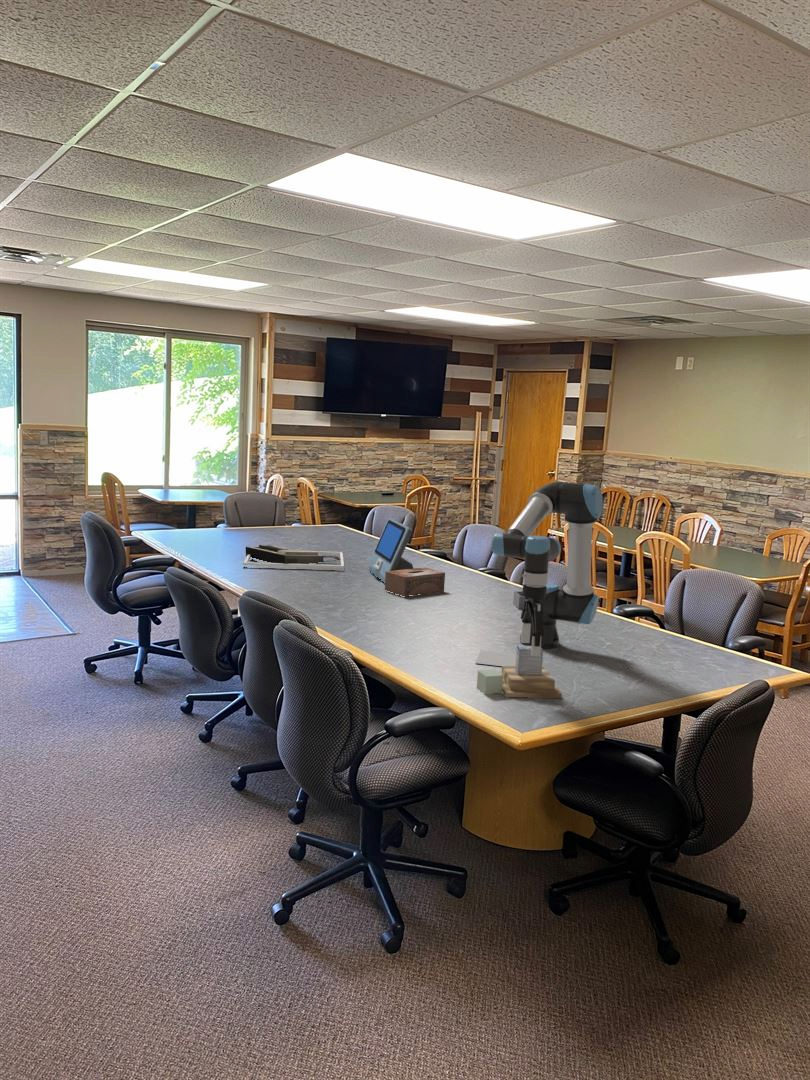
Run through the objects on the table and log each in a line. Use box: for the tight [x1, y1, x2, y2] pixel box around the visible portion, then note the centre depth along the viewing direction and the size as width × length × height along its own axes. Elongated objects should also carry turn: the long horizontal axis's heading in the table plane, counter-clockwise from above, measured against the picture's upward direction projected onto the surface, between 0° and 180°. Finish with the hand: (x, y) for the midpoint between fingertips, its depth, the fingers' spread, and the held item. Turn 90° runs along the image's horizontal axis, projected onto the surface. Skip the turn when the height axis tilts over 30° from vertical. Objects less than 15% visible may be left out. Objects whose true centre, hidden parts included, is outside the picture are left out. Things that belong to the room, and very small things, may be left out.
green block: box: [476, 669, 503, 695], centre depth 262 cm, size 6×6×6 cm
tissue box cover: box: [384, 566, 446, 596], centre depth 399 cm, size 26×14×10 cm, turn 130°
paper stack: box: [475, 649, 516, 667], centre depth 291 cm, size 23×25×1 cm
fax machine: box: [245, 544, 341, 564], centre depth 457 cm, size 45×34×10 cm
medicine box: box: [515, 645, 544, 675], centre depth 265 cm, size 8×4×9 cm, turn 93°
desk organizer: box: [512, 590, 525, 610], centre depth 380 cm, size 11×21×6 cm, turn 95°
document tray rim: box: [243, 550, 345, 570], centre depth 457 cm, size 42×53×3 cm
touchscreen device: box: [368, 517, 414, 583], centre depth 426 cm, size 35×20×30 cm, turn 17°
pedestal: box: [501, 665, 563, 699], centre depth 266 cm, size 18×18×5 cm
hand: (530, 649), depth 265 cm, fingers open, 13 cm apart
